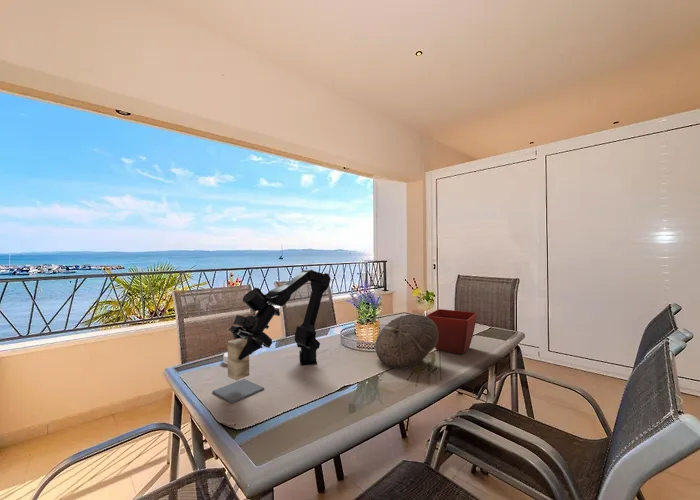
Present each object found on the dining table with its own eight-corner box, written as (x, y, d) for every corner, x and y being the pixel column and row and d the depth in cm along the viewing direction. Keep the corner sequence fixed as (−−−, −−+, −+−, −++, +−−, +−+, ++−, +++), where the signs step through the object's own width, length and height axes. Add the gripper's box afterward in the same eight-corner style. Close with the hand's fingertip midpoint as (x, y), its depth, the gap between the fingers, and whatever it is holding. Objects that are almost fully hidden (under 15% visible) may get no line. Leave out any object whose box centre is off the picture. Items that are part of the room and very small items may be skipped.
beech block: (241, 371, 106) (240, 337, 106) (249, 375, 103) (249, 340, 103) (227, 376, 102) (227, 341, 102) (236, 380, 99) (235, 344, 99)
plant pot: (425, 350, 142) (425, 315, 142) (439, 340, 158) (438, 308, 158) (468, 358, 131) (467, 320, 131) (477, 346, 147) (477, 312, 147)
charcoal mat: (244, 380, 111) (244, 378, 111) (264, 389, 103) (264, 387, 103) (212, 392, 101) (212, 390, 101) (231, 403, 94) (231, 401, 94)
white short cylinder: (239, 366, 125) (239, 357, 125) (218, 364, 127) (218, 356, 127) (252, 357, 135) (252, 350, 135) (232, 356, 137) (232, 348, 137)
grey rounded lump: (357, 362, 129) (366, 307, 139) (398, 373, 139) (404, 320, 149) (399, 365, 106) (406, 298, 117) (445, 377, 116) (448, 314, 126)
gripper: (233, 303, 111) (204, 340, 102) (264, 308, 100) (234, 350, 91) (252, 320, 117) (226, 356, 109) (283, 327, 106) (256, 368, 97)
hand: (234, 357), depth 101 cm, fingers closed on beech block, 5 cm apart
